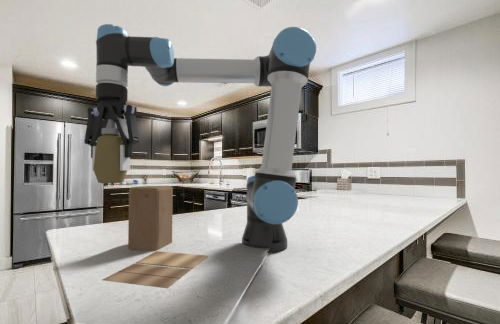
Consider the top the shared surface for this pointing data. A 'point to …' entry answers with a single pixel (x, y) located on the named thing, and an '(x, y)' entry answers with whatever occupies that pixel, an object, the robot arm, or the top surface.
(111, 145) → the squeeze bottle
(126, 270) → the floorboard
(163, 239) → the wooden block
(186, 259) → the plank
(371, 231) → the top surface
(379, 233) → the top surface
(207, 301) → the top surface
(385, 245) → the top surface
